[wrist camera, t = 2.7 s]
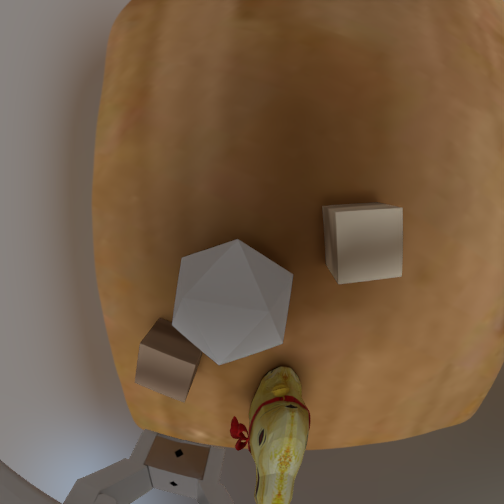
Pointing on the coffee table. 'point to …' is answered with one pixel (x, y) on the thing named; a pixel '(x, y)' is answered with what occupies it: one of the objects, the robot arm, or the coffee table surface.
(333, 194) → the coffee table surface
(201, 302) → the die
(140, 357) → the walnut block
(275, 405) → the chocolate bunny
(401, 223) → the beech block
